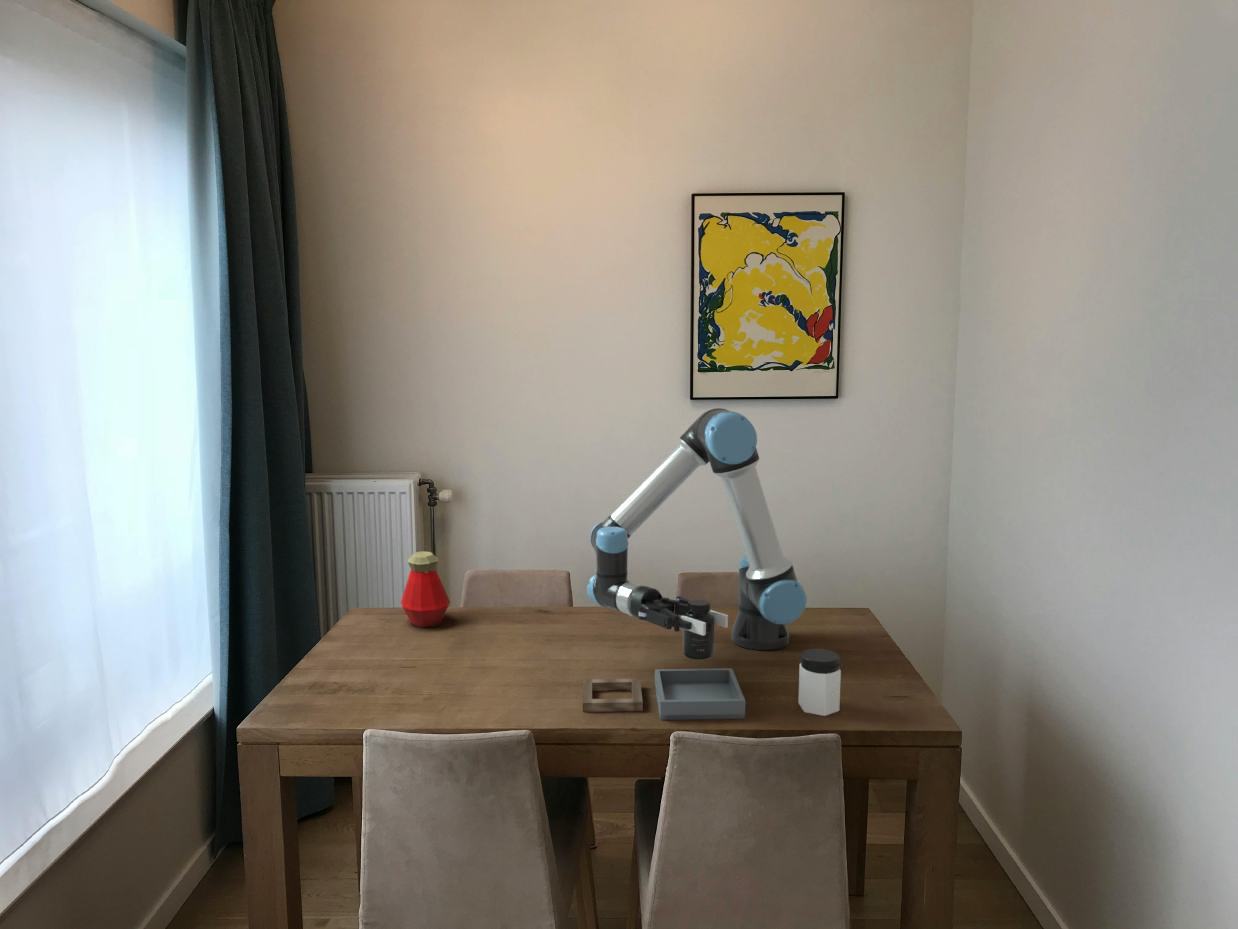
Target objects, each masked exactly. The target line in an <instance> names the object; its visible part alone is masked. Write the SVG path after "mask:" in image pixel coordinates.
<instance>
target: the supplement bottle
mask: <svg viewBox="0 0 1238 929" xmlns="http://www.w3.org/2000/svg"><path fill="white" fill-rule="evenodd" d="M689 600H690V601H688V608H687V610H688V611H689V612H687V613H686V614H685V615H684V616H686V617H690V618H693V619H696V620H699V621H702V622H705V623H706V635H704V636H703V635H700V634H697V633H694V632H691V631H688V630H685V629H682V653H683V655H684V657H686V658H688V659H690V660H706V659H709V658H711V657H713V655H714V643H715V642H714V640H715V639H714V637H715V624H714V617H713V616H712V614H711V613H709V611H710V610H711V603H710V602H709V600H707V599H701V598H694V599H689Z"/></svg>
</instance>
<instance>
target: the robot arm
mask: <svg viewBox="0 0 1238 929" xmlns="http://www.w3.org/2000/svg"><path fill="white" fill-rule="evenodd" d="M677 442H678V444H677V446H676V447H675V448H674V449H673V450H672V451H671V452H670V453H669V454H668V455H667V456H666V457H665V458H664V459H663V460H662V461H661V462H660V463H659V464H658V465H657V466H656V467H655V468H654V469H653V470H652V472H650V473H649V474H648V475H647V476H646V477H645V479H644V480H643V481H641V483H640V484H639V485H638V486H637V487H636V488H635V489H634V490H633V491H632V492H631V493H630V494H629V495H628V496H627V497H626V498H625V499H624V500H623V501H622V502H621V504H619V505H618V506H617V508H616V509H615V510H613V511H612V513H611V514H610V515H608V517H607V518H606V519H604V521H601V522H599V523H597V524H595V525H594V526H593V528H592V529H591V532H590V544H591V546H592V548H593V550H594V552H595V556H596V573H595V574H594V575H592V576H591V577H590V579H589V581H588V584H587V587H586V592H587V596H588V598H589V599H590V601H592V602H593V603H595V604H598V605H600V606H601V607H603V608H608V609H611V610H614V611H617V612H621V613H623V614H625V615H626V614H627V615H629V617H636V618H637V619H638V620H640V621H647V622H648V623H651V624H653V625H656V626H659V627H661V628H663V629H665V630H672V628H673V631H674V632H680V629H682V630H683V629H685V630H688V631H691V632H694V633H697V634H700V635H703V636H704V635H706V623H705V622H702V621H699V620H696V619H693V618H690V617H686V616H684V615H685V614H686V613H687V612H689V611H688V610H687V608H688V601H690V600H691V599H687V598H684V597H682V596H676V597H675V599H670V598H669V597H663V596H662V594H661V592H660V591H659V590H658V589H656V588H654V587H653V588H652V587H650V586H647V585H643V584H640V583H636V582H634V581H630V580H628V558H629V557H628V555H629V554H628V551H629V550H628V549H629V541H628V539H629V538H630V537H631V536H632V535H633V534H634V533H635V532H636V531H637V530H639V528H640V527H641V526H642V525H643V524H644V523H645V522H646V521H647V520H648V519H649V518H650V517H651V516H652V515H653V514H654V513H655V512H656V511H657V510H658V509H659V508H660V507H661V506H662V505H663V503H664V502H666V501H667V499H669V497H671V496H672V494H674V492H676V490H677V489H678V488H679V487H680V486H681V485H682V484H683V483H684V482H685V481H686V480H688V478H689V477H690V476H691V475H692V474H693V473H694V472H695V471H696V470H697V469H698V468H699V467H701V466H707V464H708V463H709V464H710V467H711V469H712V470H711V471H712V473H713V474H714V475H716V476H718V477H719V478H721V482H722V484H723V487H724V490H725V494H726V496H727V497H726V498H727V499H728V500H727V501H728V503H729V506H730V508H731V509H730V510H731V512H732V515H733V518H734V521H735V525H736V527H737V531H738V535H739V537H740V540H741V543H742V547H743V549H744V553H745V556H743V557H741V558H740V560H739V565H738V566H739V567H738V611H737V615H736V617H735V621H734V623H733V627H732V629H731V637H730V638H731V641H732V643H734V644H735V645H736V646H739V647H742V648H744V649H748V650H755V651H757V650H758V651H773V650H779V649H782V648H785V647H786V646H788V645H789V643H790V633H789V629H788V627H787V625H788V624H790V623H793V622H794V621H797V619H799V618H800V616H801V615H802V614H803V613H804V611H805V609H806V607H807V602H808V600H807V599H808V598H807V593H806V590H805V589H804V587H803V585H801V583H799V581H798V579H797V575H796V571H795V568H794V566H793V563H792V561H791V560H790V559H789V558H786V557H785V556H784V555H783V552H782V548H781V545H780V542H779V538H778V536H777V532H776V529H775V525H774V522H773V519H772V516H771V513H770V509H769V506H768V502H767V500H766V496H765V494H764V491H763V487H762V484H761V480H760V477H759V474H758V471H757V468H756V467H757V466H758V463H759V462H760V457H759V452H758V449H757V445H758V435H757V431H756V429H755V427H754V425H753V423H752V422H751V420H749V418H748V417H746V416H745V415H743V414H741V413H739V412H736V411H731V410H728V409H726V408H718V407H716V408H712V409H708V410H707V411H704V412H703V413H702V414H701V415H699V417H698V418H696V420H695V421H694V422H693V423H692V424H691V425H690V426H689V427H688V429H687V430H685V432H684V433H683V434H682V435H681V436H680V437H679V438H678V441H677ZM709 613H711V614H712V616H713V617H714V626H719V627H721V628H724V629H726V628H728V627H729V623H728V622H729V615H728V614H726V613H722V612H719V611H715V610H712V609H710V611H709Z"/></svg>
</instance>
